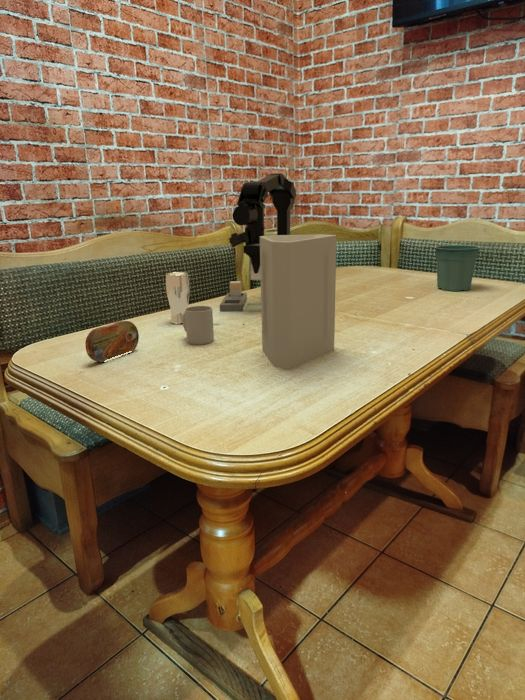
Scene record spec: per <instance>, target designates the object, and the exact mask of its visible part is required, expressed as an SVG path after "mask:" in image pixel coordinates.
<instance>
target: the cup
mask: <svg viewBox="0 0 525 700" xmlns="http://www.w3.org/2000/svg"><path fill="white" fill-rule="evenodd" d="M213 315H214V314H213V307H212V306H209V305H208V306H207V305H194V306H193V305H192V306H188V308H186V309H185V313H184V314H183V324H182V327H183V329H184V331H185V333H186V339H187V342H188V344H191V345H194V344H195V346H196V345H198V346H201V345H202V346H203V345H207V344H211V343H213V342H214V340H215V335H214V332H215V331H214V316H213Z"/></svg>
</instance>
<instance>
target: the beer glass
mask: <svg viewBox="0 0 525 700" xmlns="http://www.w3.org/2000/svg"><path fill="white" fill-rule="evenodd" d="M165 291H166V296H167V299H168V303H169V304H168V305H169V308H170V322H169V323H170V324H172V323H177V324H176V325H181V324H180V323H183V314H184V313H185V309H186V308H188V307H189V300H190V280H189V274H188V272H185V271H171V272H167V273H166V274H165Z"/></svg>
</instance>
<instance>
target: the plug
mask: <svg viewBox="0 0 525 700" xmlns="http://www.w3.org/2000/svg"><path fill="white" fill-rule="evenodd" d="M249 268H250V271H249V272H250V273H249V274H250V281H252V280H253V281H254V280H257V281H258V280H261V272H260V268H259V271H258V273H254V270H253V266H252V262H251V258H250V257H249Z"/></svg>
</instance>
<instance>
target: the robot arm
mask: <svg viewBox="0 0 525 700" xmlns="http://www.w3.org/2000/svg"><path fill="white" fill-rule="evenodd" d="M268 194H269V195H268ZM269 196H270V197H271V198H272V200H271V202H272V205H273V207H274V208H275V210H276V225H277V226H276V232H277V233H276V235H291V210H292V208H293V206H294V205H295V201H296V196H297V190H296V188H295V186H294V184H293V182H292V181H290V180H289V179H288V178H286V177H285V175H284V174H283V173H280V172H279V173H270V174H268V175H267V176H266V177H263V178H261V179H258V180H257V181H246V182H244V183H243V184H242V187H241V189H240V193H239V196H238V198H237V202H236V203H237V206H236V207H235V208H234V209H233V212H232V216H231V217H232V220H233V222H234V223H235V224H236V225H237V226H245V228H244V231H243V232H240V233H237V232H234V233H232V234H230V235H231V236H230V237H229V238H228V241H229V243H230V245H231V248H236V247H237V246H239V245H242V244H244V246H243V254H245V255H247V256H248V258H249V259H250V258H251V262H252V266H253V270H254V273H258V271H259V268H260V236H265V229H266V227H265V226H266V225H265V209H266V204H265V201H266V199H267V198H268V197H269Z"/></svg>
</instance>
